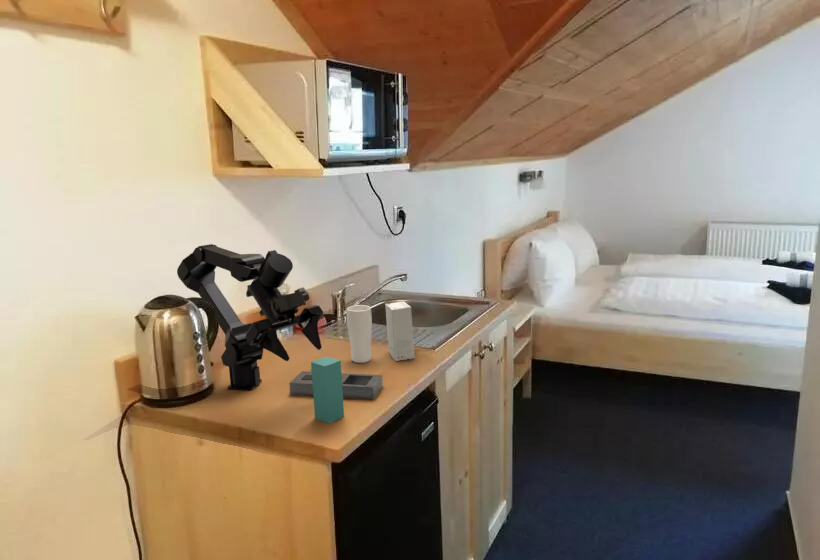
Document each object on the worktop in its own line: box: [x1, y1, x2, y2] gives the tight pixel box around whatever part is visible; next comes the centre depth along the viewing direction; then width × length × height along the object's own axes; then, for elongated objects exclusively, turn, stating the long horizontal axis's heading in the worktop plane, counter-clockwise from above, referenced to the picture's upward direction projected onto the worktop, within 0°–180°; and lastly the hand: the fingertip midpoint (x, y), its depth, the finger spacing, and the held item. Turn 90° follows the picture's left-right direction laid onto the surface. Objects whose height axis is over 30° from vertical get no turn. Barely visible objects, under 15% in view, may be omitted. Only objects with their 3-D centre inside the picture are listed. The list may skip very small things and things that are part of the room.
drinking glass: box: [346, 304, 373, 364], centre depth 175 cm, size 7×7×15 cm
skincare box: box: [384, 301, 416, 362], centre depth 178 cm, size 8×6×15 cm
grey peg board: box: [289, 370, 384, 400], centre depth 156 cm, size 21×8×3 cm, turn 77°
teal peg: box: [310, 356, 345, 424], centre depth 140 cm, size 4×4×13 cm
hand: (304, 354), depth 143 cm, fingers open, 9 cm apart
